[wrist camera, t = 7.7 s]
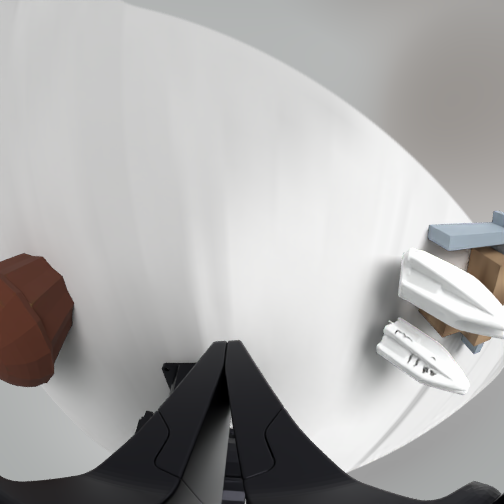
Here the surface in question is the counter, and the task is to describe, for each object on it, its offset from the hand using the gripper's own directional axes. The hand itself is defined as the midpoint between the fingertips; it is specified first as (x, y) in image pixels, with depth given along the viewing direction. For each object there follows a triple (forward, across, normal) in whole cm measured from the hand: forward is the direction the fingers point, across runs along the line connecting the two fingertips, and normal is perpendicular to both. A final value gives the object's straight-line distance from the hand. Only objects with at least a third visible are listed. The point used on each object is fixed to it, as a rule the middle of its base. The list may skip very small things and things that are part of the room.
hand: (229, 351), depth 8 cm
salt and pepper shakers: (+11, -12, +7) cm, 18 cm away
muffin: (+12, +20, +4) cm, 24 cm away
